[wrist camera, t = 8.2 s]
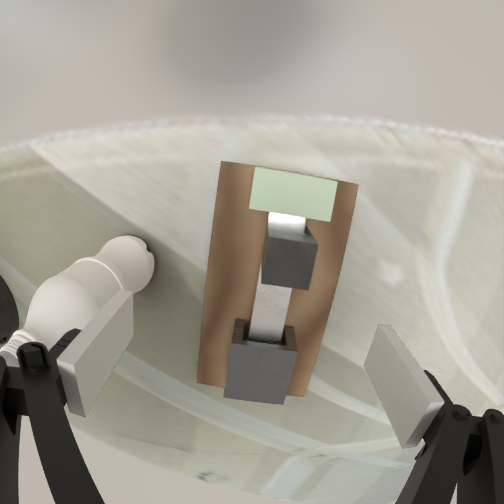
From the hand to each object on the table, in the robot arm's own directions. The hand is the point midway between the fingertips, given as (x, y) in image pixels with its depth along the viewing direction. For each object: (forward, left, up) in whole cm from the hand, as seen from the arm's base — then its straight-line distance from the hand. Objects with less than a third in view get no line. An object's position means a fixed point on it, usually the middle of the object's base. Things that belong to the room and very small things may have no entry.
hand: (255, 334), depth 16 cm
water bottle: (-16, -6, -24) cm, 29 cm away
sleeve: (+2, -15, -23) cm, 28 cm away
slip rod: (+2, -3, -22) cm, 23 cm away
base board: (+2, -8, -23) cm, 25 cm away
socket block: (+2, +6, -23) cm, 24 cm away
